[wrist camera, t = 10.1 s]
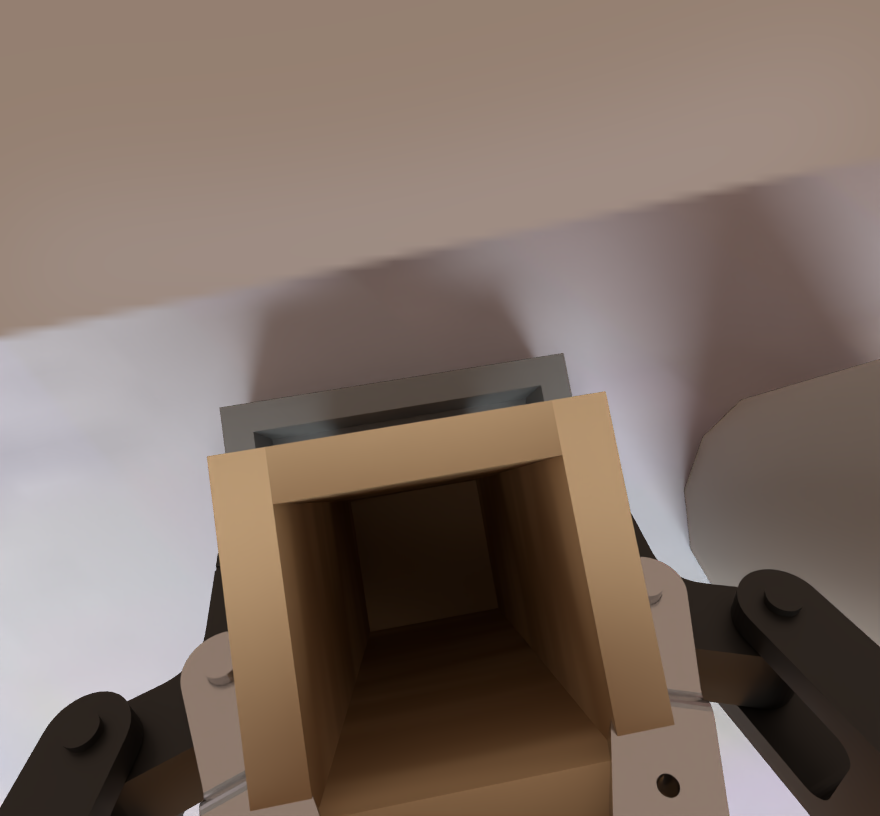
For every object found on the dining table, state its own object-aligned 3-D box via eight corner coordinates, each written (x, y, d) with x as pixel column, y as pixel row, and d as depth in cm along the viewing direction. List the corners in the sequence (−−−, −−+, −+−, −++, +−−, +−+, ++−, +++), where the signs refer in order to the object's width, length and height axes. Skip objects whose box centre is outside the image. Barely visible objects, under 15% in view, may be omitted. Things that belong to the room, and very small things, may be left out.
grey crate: (247, 420, 20) (219, 407, 17) (541, 373, 21) (563, 353, 18) (289, 736, 19) (266, 780, 16) (599, 674, 20) (634, 706, 17)
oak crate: (325, 481, 19) (207, 456, 8) (492, 453, 19) (605, 391, 8) (350, 657, 18) (261, 900, 7) (523, 625, 18) (692, 808, 7)
